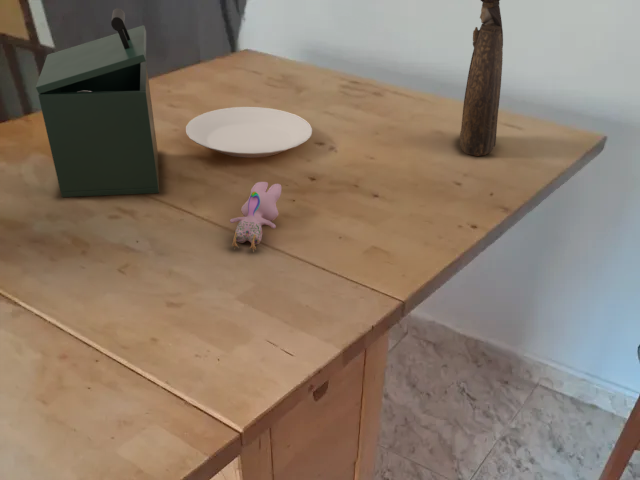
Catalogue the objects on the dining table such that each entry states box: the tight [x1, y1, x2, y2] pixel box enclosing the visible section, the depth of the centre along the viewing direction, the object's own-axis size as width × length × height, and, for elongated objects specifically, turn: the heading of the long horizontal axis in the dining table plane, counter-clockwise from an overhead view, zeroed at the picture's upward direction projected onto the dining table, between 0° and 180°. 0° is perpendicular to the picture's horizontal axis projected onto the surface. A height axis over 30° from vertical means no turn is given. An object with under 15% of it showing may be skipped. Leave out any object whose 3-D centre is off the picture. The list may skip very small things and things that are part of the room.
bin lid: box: [35, 7, 147, 94], centre depth 92 cm, size 14×15×5 cm
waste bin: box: [38, 60, 160, 198], centre depth 99 cm, size 14×15×14 cm
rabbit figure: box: [229, 181, 283, 253], centre depth 91 cm, size 6×6×15 cm
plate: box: [185, 106, 313, 159], centre depth 114 cm, size 21×21×2 cm
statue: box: [459, 0, 504, 157], centre depth 109 cm, size 9×8×25 cm
